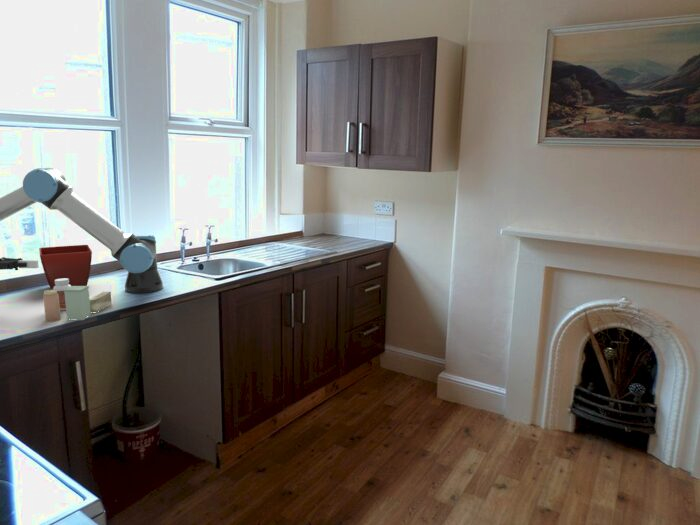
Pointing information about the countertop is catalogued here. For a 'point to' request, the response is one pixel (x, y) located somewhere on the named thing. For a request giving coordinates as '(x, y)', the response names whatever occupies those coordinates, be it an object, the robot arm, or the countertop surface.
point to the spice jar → (51, 305)
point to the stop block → (100, 301)
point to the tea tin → (77, 302)
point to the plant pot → (66, 264)
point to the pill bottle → (61, 291)
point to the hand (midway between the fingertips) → (37, 264)
